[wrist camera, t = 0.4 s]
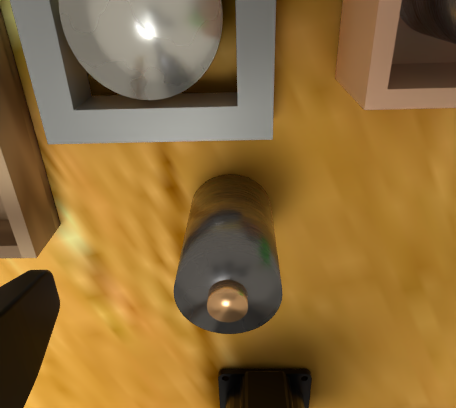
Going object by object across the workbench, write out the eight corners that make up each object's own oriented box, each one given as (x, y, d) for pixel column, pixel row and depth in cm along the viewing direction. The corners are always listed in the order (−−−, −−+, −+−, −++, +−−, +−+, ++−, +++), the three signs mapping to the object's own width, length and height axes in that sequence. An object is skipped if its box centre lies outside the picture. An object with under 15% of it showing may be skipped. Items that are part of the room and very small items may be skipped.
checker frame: (269, 122, 20) (272, 139, 18) (67, 126, 20) (47, 144, 18) (274, -142, 15) (279, -162, 13) (7, -130, 15) (-30, -147, 13)
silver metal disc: (225, 92, 17) (224, 98, 16) (86, 95, 17) (78, 101, 16) (219, -80, 14) (218, -84, 13) (52, -74, 14) (40, -77, 14)
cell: (270, 242, 23) (281, 346, 17) (194, 243, 23) (176, 346, 17) (271, 173, 21) (286, 261, 15) (188, 175, 21) (165, 263, 15)
